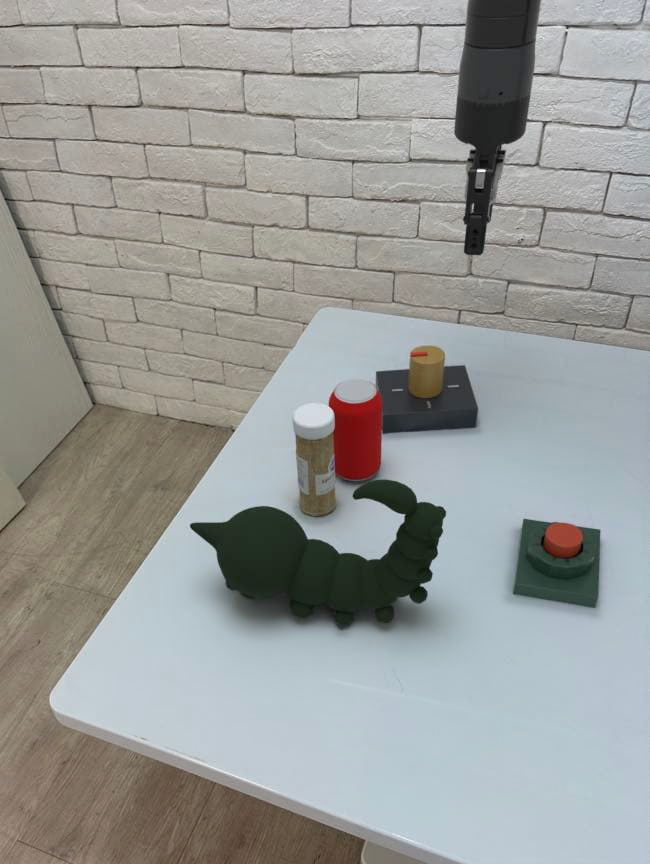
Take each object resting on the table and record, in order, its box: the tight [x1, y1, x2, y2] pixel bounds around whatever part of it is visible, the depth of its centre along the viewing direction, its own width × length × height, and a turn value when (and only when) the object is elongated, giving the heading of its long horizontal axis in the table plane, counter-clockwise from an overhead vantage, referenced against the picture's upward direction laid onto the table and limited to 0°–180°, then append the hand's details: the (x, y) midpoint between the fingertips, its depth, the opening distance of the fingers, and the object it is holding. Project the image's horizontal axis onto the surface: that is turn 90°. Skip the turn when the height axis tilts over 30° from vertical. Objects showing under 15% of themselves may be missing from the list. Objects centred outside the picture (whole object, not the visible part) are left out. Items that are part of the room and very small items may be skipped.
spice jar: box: [292, 402, 337, 517], centre depth 92 cm, size 5×5×14 cm
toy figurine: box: [189, 478, 447, 628], centre depth 80 cm, size 9×19×25 cm
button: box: [543, 522, 583, 558], centre depth 83 cm, size 4×4×2 cm
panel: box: [375, 364, 479, 434], centre depth 107 cm, size 12×10×3 cm
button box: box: [512, 518, 601, 608], centre depth 84 cm, size 10×8×4 cm
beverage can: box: [328, 378, 383, 482], centre depth 96 cm, size 6×6×12 cm
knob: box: [408, 344, 446, 398], centre depth 104 cm, size 4×4×6 cm
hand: (477, 237), depth 96 cm, fingers open, 8 cm apart
